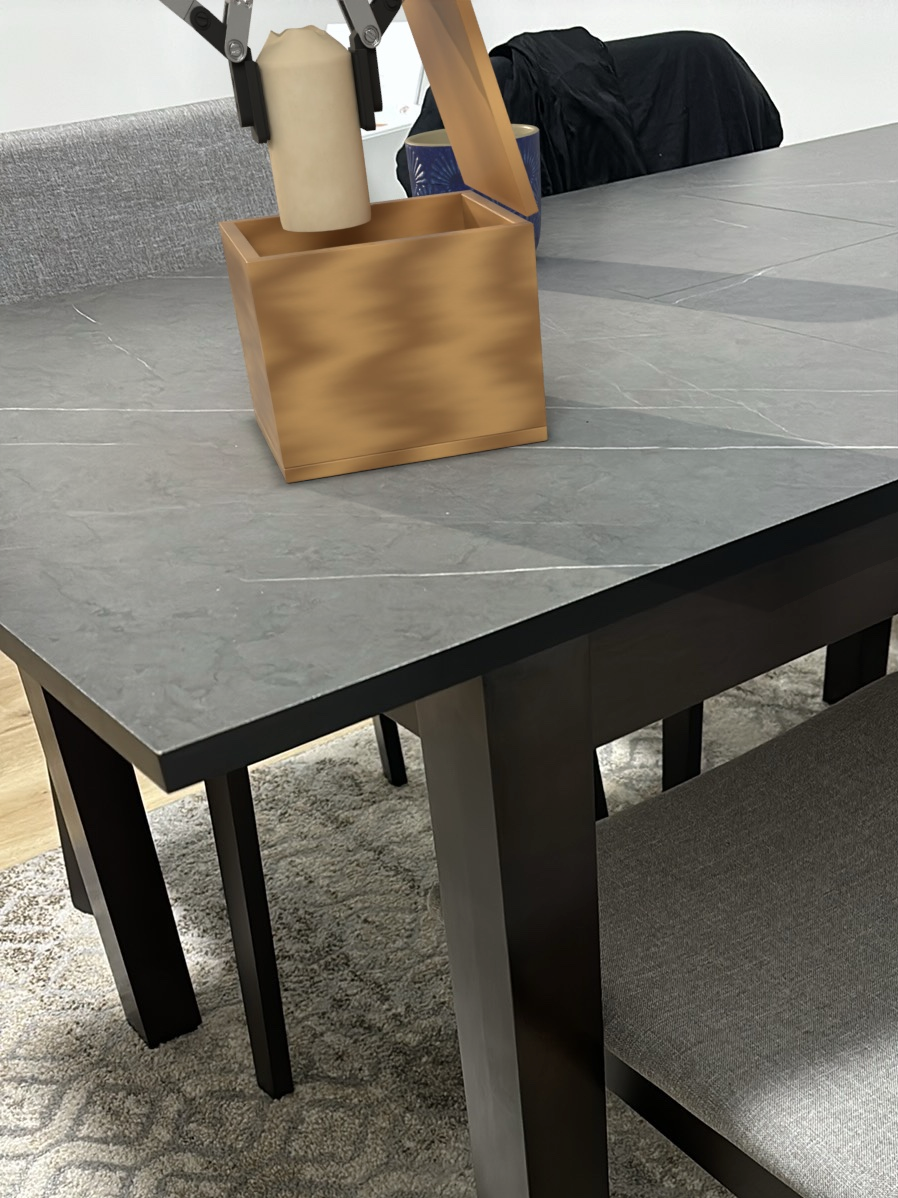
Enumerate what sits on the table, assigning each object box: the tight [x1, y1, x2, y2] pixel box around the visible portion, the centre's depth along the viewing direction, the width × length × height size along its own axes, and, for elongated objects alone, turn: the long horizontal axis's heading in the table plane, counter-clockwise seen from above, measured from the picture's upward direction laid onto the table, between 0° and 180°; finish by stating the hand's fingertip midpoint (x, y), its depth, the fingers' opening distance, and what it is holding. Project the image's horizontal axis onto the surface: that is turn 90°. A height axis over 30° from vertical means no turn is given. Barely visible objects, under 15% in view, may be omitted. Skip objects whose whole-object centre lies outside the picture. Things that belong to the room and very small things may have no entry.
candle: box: [254, 24, 371, 232], centre depth 81 cm, size 6×6×10 cm
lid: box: [401, 0, 539, 217], centre depth 81 cm, size 18×15×5 cm
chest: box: [218, 190, 548, 484], centre depth 89 cm, size 17×15×12 cm
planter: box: [404, 123, 542, 252], centre depth 131 cm, size 12×12×11 cm
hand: (313, 131), depth 81 cm, fingers closed on candle, 5 cm apart
